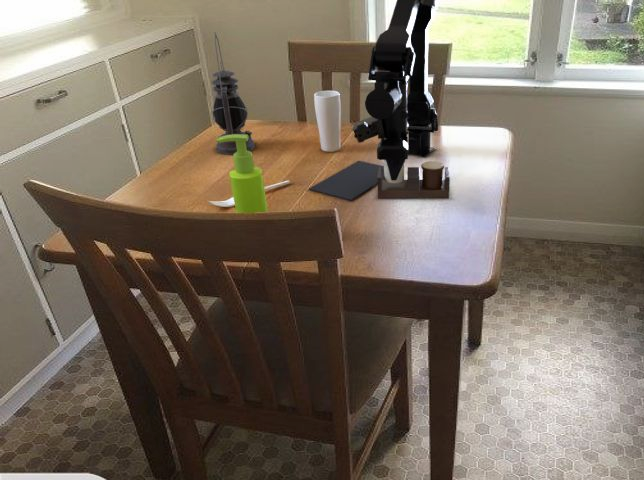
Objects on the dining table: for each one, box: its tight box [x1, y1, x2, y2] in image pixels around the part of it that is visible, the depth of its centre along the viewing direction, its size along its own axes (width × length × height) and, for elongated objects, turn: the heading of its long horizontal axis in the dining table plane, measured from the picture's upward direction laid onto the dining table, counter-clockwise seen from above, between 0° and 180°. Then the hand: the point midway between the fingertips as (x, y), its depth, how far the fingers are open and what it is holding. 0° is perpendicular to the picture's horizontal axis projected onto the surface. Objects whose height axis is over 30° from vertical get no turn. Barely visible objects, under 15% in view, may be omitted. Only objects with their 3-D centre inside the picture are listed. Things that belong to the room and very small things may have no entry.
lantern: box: [210, 32, 256, 156], centre depth 140 cm, size 12×11×30 cm
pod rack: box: [376, 166, 451, 200], centre depth 119 cm, size 6×16×5 cm, turn 87°
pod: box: [420, 160, 445, 189], centre depth 117 cm, size 5×5×5 cm
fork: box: [208, 180, 291, 208], centre depth 120 cm, size 3×20×2 cm, turn 131°
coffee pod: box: [382, 159, 407, 183], centre depth 117 cm, size 5×5×5 cm
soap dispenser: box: [216, 134, 269, 213], centre depth 100 cm, size 6×7×20 cm
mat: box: [308, 160, 384, 202], centre depth 127 cm, size 20×12×1 cm, turn 147°
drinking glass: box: [313, 90, 342, 153], centre depth 141 cm, size 7×7×15 cm
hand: (394, 175), depth 118 cm, fingers closed on coffee pod, 4 cm apart
